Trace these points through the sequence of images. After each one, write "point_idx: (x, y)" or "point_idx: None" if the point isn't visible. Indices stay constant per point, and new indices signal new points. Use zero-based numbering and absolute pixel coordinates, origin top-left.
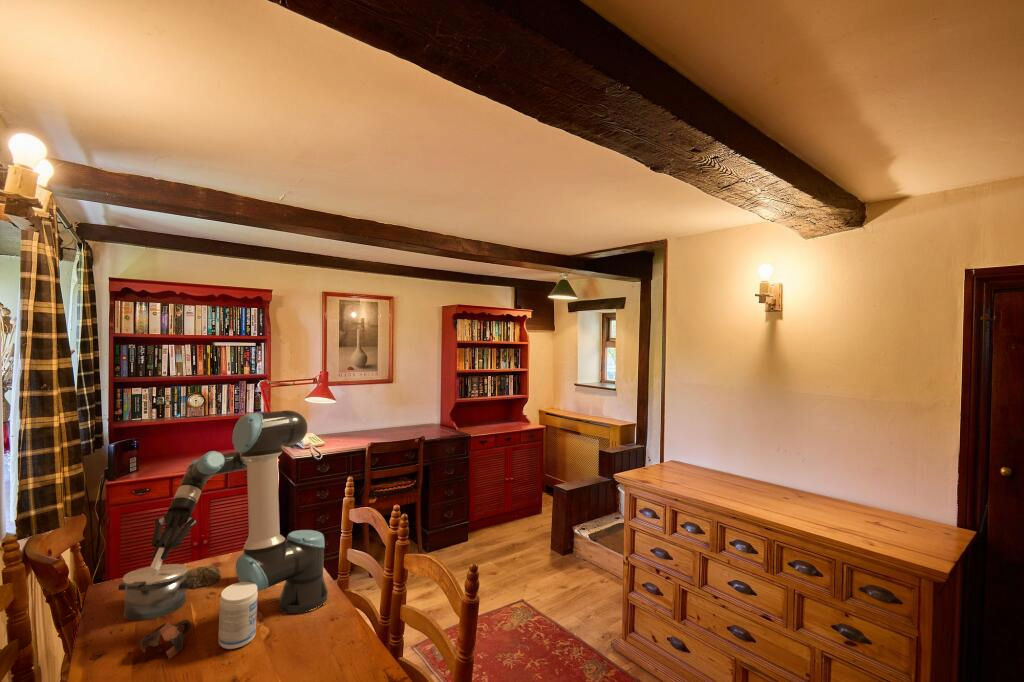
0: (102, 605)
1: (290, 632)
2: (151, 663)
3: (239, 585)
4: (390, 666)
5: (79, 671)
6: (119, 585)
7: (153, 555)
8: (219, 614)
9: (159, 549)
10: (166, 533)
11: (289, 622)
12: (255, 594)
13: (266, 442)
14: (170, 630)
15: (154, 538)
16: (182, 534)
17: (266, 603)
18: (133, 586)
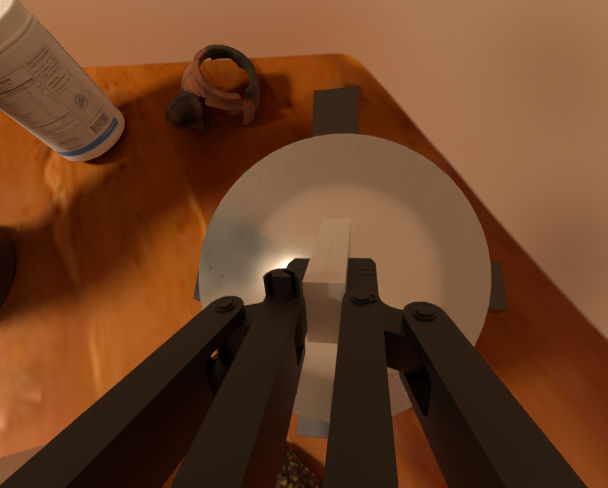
0: (555, 335)
1: (10, 164)
2: (231, 80)
3: None
4: None
5: (351, 56)
6: (494, 262)
7: (371, 267)
8: (69, 58)
9: (335, 273)
10: (330, 431)
11: (6, 198)
12: None
13: None
14: (188, 66)
15: (462, 363)
16: (119, 391)
17: (41, 289)
18: (332, 90)
